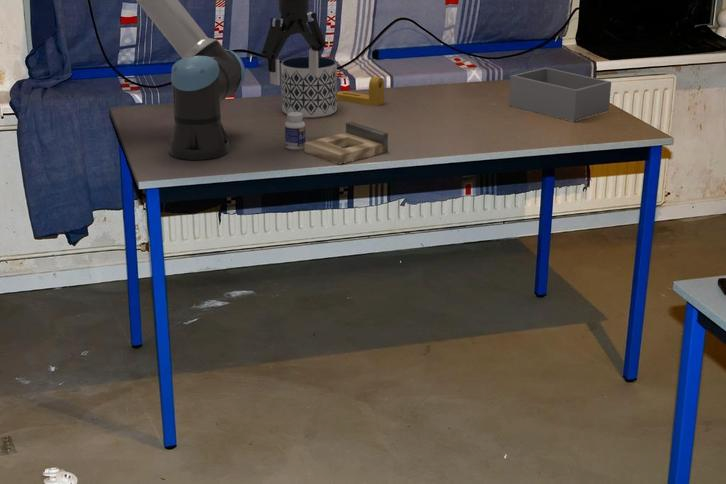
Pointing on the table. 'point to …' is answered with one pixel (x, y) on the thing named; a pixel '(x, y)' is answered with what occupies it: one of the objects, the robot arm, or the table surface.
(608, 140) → the table surface
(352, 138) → the jig
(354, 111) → the table surface
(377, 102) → the bracket
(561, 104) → the open gray rectangular box
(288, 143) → the pill bottle
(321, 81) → the planter
